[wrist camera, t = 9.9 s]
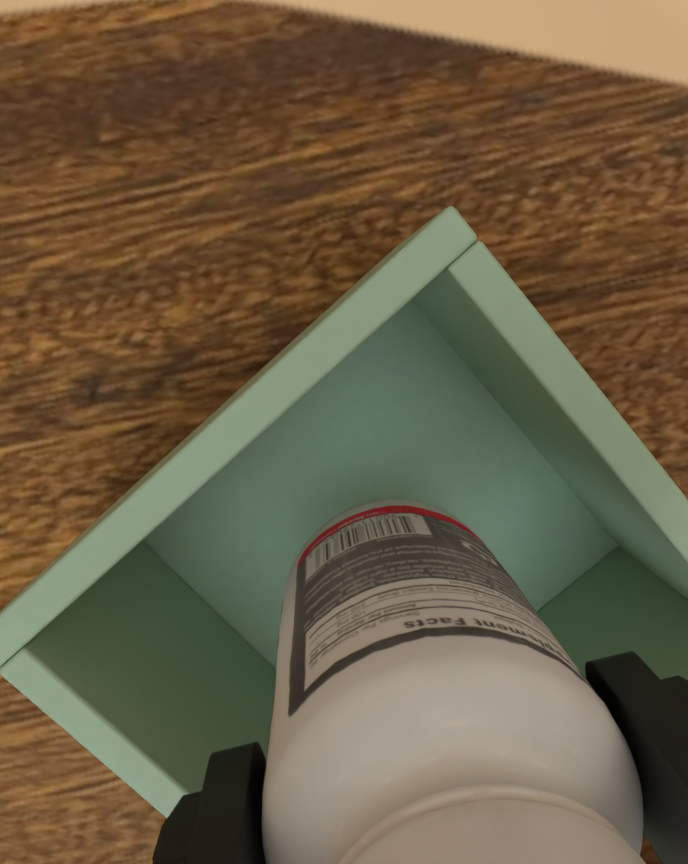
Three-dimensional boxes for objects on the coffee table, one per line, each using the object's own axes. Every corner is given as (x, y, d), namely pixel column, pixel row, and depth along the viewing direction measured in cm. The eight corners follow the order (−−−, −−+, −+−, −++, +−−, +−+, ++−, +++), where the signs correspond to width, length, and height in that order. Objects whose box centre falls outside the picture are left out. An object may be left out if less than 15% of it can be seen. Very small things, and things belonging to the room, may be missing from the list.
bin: (97, 517, 20) (-37, 645, 12) (397, 245, 18) (452, 202, 11) (359, 768, 22) (381, 1006, 14) (642, 540, 21) (826, 671, 13)
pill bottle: (459, 714, 16) (675, 1316, 6) (258, 668, 16) (170, 1250, 6) (527, 523, 15) (898, 901, 6) (316, 468, 15) (321, 776, 5)
